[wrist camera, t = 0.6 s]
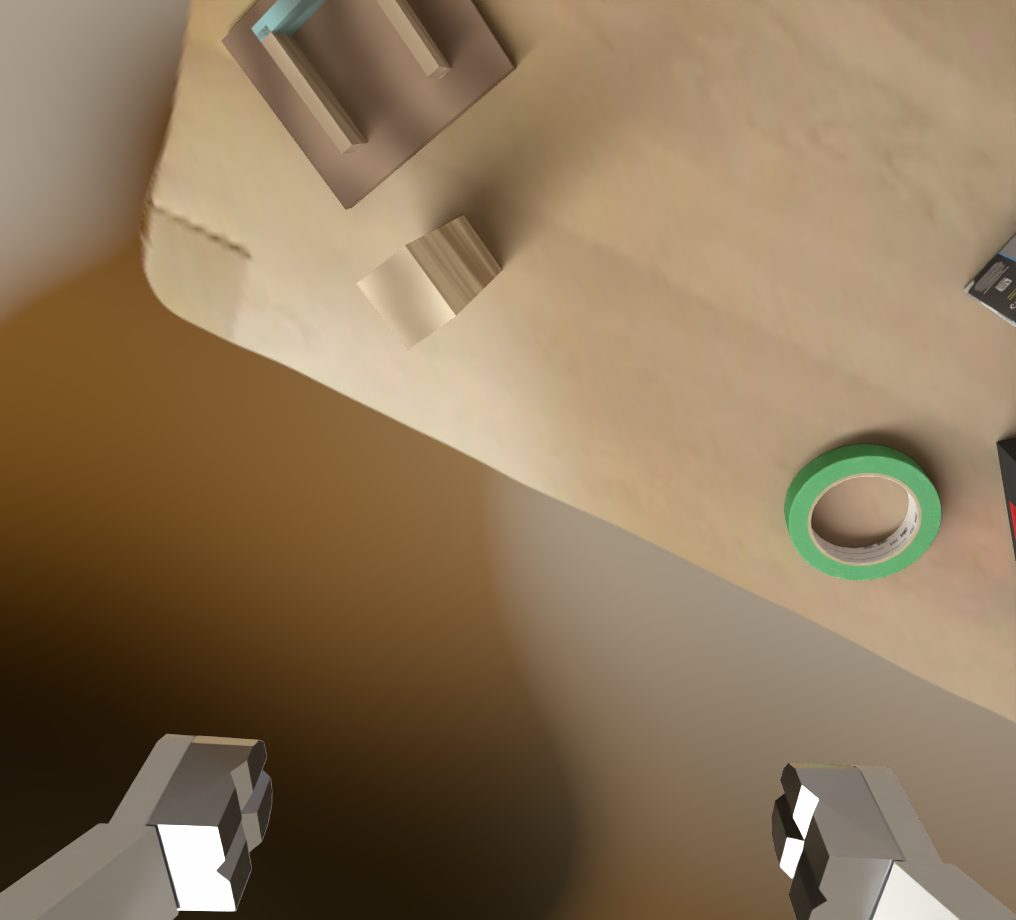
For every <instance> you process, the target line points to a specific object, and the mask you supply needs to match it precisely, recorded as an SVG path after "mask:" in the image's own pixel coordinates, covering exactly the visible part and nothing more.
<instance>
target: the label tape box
mask: <svg viewBox="0 0 1016 920" xmlns="http://www.w3.org/2000/svg"><path fill="white" fill-rule="evenodd" d="M964 292H966V293H967V294H968V295H970V296H971V297H972V298H974V299H975V300H976V301H978V302H979V303H980V304H982V305H983V306H985V307H986V308H988V309H989V310H990V311H992V312H993V313H995V314H996V315H998V316H999V317H1001V318H1002V319H1004V320H1005V321H1007V322H1008V323H1010V324H1011V325H1013V326H1015V327H1016V235H1015V236H1014V237H1013V238H1012V239H1011V240H1010V241H1009V242H1008V243H1007V244H1006V246H1005V247H1004V248H1003V249H1002V250H1001V251H1000V252H999V253H998V254H997V255H996V256H995V257H994V258H993V259H992V260H991V262H990V263H989V264H988V265H987V266H986V267H985V268H984V269H983V270H982V271H981V272H980V273H979V274H978V275H977V276H976V277H975V279H974V280H973V281H972V282H971V283H970V284H969V285H968V286H967V287H966V288H965V289H964Z"/></svg>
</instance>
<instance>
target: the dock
mask: <svg viewBox="0 0 1016 920" xmlns="http://www.w3.org/2000/svg"><path fill="white" fill-rule="evenodd" d="M222 42H223V44H224V45H225V46H226V48H227V49H228V50H229V52H230V53H231V55H232V56H233V57H234V59H235V60H236V61H237V63H238V64H239V65H240V67H241V68H242V69H243V71H244V72H245V74H246V75H247V76H248V78H249V79H250V80H251V82H252V83H253V84H254V86H255V87H256V88H257V90H258V91H259V93H260V94H261V95H262V97H263V98H264V99H265V101H266V102H267V103H268V105H269V106H270V107H271V109H272V110H273V112H274V113H275V114H276V116H277V117H278V118H279V120H280V121H281V122H282V124H283V125H284V126H285V128H286V129H287V131H288V132H289V133H290V135H291V136H292V137H293V139H294V140H295V141H296V143H297V144H298V145H299V147H300V148H301V150H302V151H303V152H304V154H305V155H306V156H307V158H308V159H309V160H310V162H311V163H312V164H313V166H314V167H315V169H316V170H317V171H318V173H319V174H320V175H321V177H322V178H323V179H324V181H325V182H326V183H327V185H328V186H329V188H330V189H331V190H332V192H333V193H334V194H335V196H336V197H337V198H338V200H339V201H340V202H341V204H342V205H343V207H344V208H345V209H349V208H352V207H353V206H354V205H356V204H357V203H358V202H359V201H360V200H362V199H363V198H364V197H365V196H366V195H367V194H369V193H370V192H371V191H372V190H373V189H374V188H376V187H377V186H378V185H379V184H380V183H382V182H383V181H384V180H385V179H386V178H387V177H389V176H390V175H391V174H392V173H393V172H394V171H396V170H397V169H398V168H399V167H400V166H402V165H403V164H404V163H405V162H406V161H407V160H409V159H410V158H411V157H412V156H413V155H415V154H416V153H417V152H418V151H419V150H420V149H422V148H423V147H424V146H425V145H426V144H427V143H429V142H430V141H431V140H432V139H433V138H435V137H436V136H437V135H438V134H439V133H440V132H442V131H443V130H444V129H445V128H446V127H448V126H449V125H450V124H451V123H452V122H453V121H455V120H456V119H457V118H458V117H459V116H460V115H462V114H463V113H464V112H465V111H466V110H468V109H469V108H470V107H471V106H472V105H473V104H475V103H476V102H477V101H478V100H479V99H481V98H482V97H483V96H484V95H485V94H486V93H488V92H489V91H490V90H491V89H492V88H493V87H495V86H496V85H497V84H498V83H499V82H501V81H502V80H503V79H504V78H505V77H506V76H508V75H509V74H510V73H511V72H512V71H513V70H515V69H516V67H515V65H514V64H513V62H512V60H511V59H510V57H509V56H508V54H507V53H506V51H505V49H504V48H503V46H502V45H501V43H500V42H499V40H498V38H497V37H496V35H495V34H494V32H493V31H492V29H491V27H490V26H489V24H488V23H487V21H486V20H485V18H484V16H483V15H482V13H481V12H480V10H479V9H478V7H477V5H476V4H475V2H474V1H473V0H259V1H258V2H257V3H256V4H255V5H254V6H253V7H252V8H251V9H250V11H249V12H248V13H247V14H246V15H245V16H244V17H243V18H242V19H241V20H240V21H239V22H238V24H237V25H236V26H235V27H234V28H233V29H232V30H231V31H230V32H229V33H228V34H227V35H226V37H225V38H224V39H223V40H222Z"/></svg>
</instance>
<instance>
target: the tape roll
mask: <svg viewBox="0 0 1016 920" xmlns="http://www.w3.org/2000/svg"><path fill="white" fill-rule="evenodd" d="M874 476H878V477H883V478H886V479H889V480H892V481H894V482H897V483H898V484H900V485H901V486H902V487H904V488H905V489H906V490H907V493H908V497H909V508H908V512H907V515H906V517H905V519H904V521H903V523H902V524H901V526H900V527H899V528H898V529H897V530H896V531H895V532H894V533H893V534H892V535H890V536H889V537H888V538H886V539H884V540H882V541H881V542H878V543H876V544H873V545H870V546H866V547H859V548H848V547H841V546H837V545H834V544H831V543H829V542H827V541H825V540H824V539H822V538H821V537H820V536H818V535H817V534H816V533H815V531H814V530H813V529H812V527H811V518H812V513H813V510H814V507H815V505H816V504H817V502H818V501H819V499H820V498H821V496H822V495H823V494H824V493H825V492H827V491H828V490H829V489H830V488H832V487H833V486H836V485H837V484H839V483H841V482H843V481H845V480H848V479H852V478H857V477H874ZM784 513H785V520H786V524H787V528H788V531H789V534H790V537H791V540H792V542H793V545H794V547H795V548H796V550H797V551H798V553H799V554H800V555H801V557H802V558H803V559H804V560H805V561H806V562H807V563H809V564H810V565H811V566H813V567H814V568H816V569H817V570H819V571H821V572H823V573H825V574H827V575H830V576H833V577H837V578H841V579H848V580H870V579H876V578H881V577H885V576H888V575H891V574H894V573H896V572H898V571H900V570H902V569H904V568H906V567H907V566H909V565H911V564H912V563H913V562H915V561H916V560H917V559H918V558H919V557H920V556H922V555H923V554H924V553H925V551H926V550H927V549H928V548H929V547H930V545H931V544H932V543H933V541H934V539H935V537H936V535H937V533H938V530H939V527H940V523H941V515H942V511H941V503H940V499H939V496H938V493H937V491H936V489H935V487H934V485H933V484H932V482H931V481H930V479H929V478H928V477H927V475H926V474H925V472H924V471H923V470H922V468H921V467H920V466H919V465H918V464H917V463H916V462H915V461H914V460H912V459H911V458H910V457H908V456H907V455H905V454H903V453H902V452H899V451H897V450H895V449H892V448H889V447H885V446H880V445H873V444H857V445H849V446H844V447H840V448H837V449H834V450H831V451H829V452H826V453H824V454H822V455H821V456H819V457H817V458H815V459H814V460H812V461H811V462H810V463H809V464H807V465H806V466H805V467H804V468H803V469H802V470H801V471H800V472H799V473H798V474H797V476H796V477H795V479H794V480H793V482H792V483H791V485H790V487H789V489H788V492H787V495H786V499H785V506H784Z"/></svg>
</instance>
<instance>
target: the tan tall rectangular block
mask: <svg viewBox="0 0 1016 920" xmlns="http://www.w3.org/2000/svg"><path fill="white" fill-rule="evenodd" d="M501 271H502V269H501V268H500V266H499V265H498V264H497V262H496V261H495V259H494V258H493V256H492V255H491V253H490V252H489V251H488V249H487V248H486V246H485V245H484V243H483V242H482V240H481V239H480V238H479V236H478V235H477V233H476V232H475V230H474V229H473V227H472V226H471V225H470V223H469V222H468V220H467V219H466V217H465V216H464V215H462V216H460V217H458V218H456V219H454V220H453V221H451V222H449V223H447V224H445V225H443V226H441V227H439V228H437V229H436V230H434V231H432V232H430V233H428V234H426V235H424V236H422V237H420V238H418V239H417V240H415V241H413V242H411V243H409V244H407V245H405V246H404V247H403V248H401V249H400V250H399V251H398V252H396V253H395V254H394V255H393V256H391V257H390V258H389V259H387V260H386V261H385V262H384V263H382V264H381V265H380V266H379V267H377V268H376V269H375V270H374V271H372V272H371V273H370V274H368V275H367V276H366V277H365V278H363V279H362V280H361V281H360V282H358V283H357V285H358V286H359V287H360V289H361V290H362V291H363V293H364V294H365V295H366V297H367V298H368V299H369V301H370V302H371V303H372V305H373V306H374V307H375V309H376V310H377V311H378V313H379V314H380V315H381V317H382V318H383V319H384V321H385V322H386V323H387V325H388V326H389V327H390V329H391V330H392V331H393V333H394V334H395V335H396V337H397V338H398V339H399V340H400V342H401V343H402V344H403V346H404V347H405V348H406V350H409V349H410V348H411V347H413V346H414V345H416V344H417V343H418V342H420V341H421V340H423V339H424V338H425V337H427V336H428V335H430V334H431V333H432V332H434V331H435V330H437V329H438V328H439V327H441V326H442V325H444V324H445V323H446V322H448V321H449V320H451V319H452V318H453V317H455V316H456V315H457V314H458V313H459V312H460V311H461V310H462V309H463V308H464V307H465V306H466V305H467V304H468V303H469V302H470V301H471V300H472V299H473V298H474V297H475V296H477V295H478V294H479V293H480V292H481V291H482V290H483V289H484V288H485V287H486V286H487V285H488V284H489V283H490V282H491V281H492V280H493V279H494V278H495V277H496V276H497V275H498V274H499V273H500V272H501Z"/></svg>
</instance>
